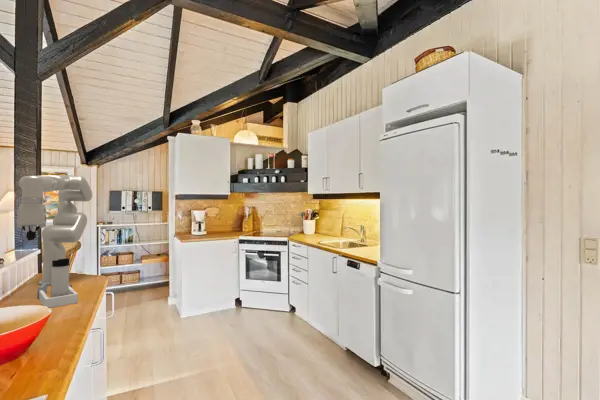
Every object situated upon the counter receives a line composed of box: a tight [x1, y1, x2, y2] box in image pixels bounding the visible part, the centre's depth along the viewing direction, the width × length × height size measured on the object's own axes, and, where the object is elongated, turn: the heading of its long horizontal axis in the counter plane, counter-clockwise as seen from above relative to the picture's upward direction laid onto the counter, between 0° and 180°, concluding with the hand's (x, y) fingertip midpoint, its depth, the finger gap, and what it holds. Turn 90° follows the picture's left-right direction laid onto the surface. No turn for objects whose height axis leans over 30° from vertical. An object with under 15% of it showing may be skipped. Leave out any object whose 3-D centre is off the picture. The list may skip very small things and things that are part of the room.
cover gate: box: [36, 283, 48, 300], centre depth 145 cm, size 1×11×5 cm, turn 28°
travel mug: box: [50, 257, 70, 298], centre depth 137 cm, size 6×7×20 cm
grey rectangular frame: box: [38, 283, 79, 309], centre depth 139 cm, size 18×12×4 cm
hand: (30, 239), depth 144 cm, fingers closed
